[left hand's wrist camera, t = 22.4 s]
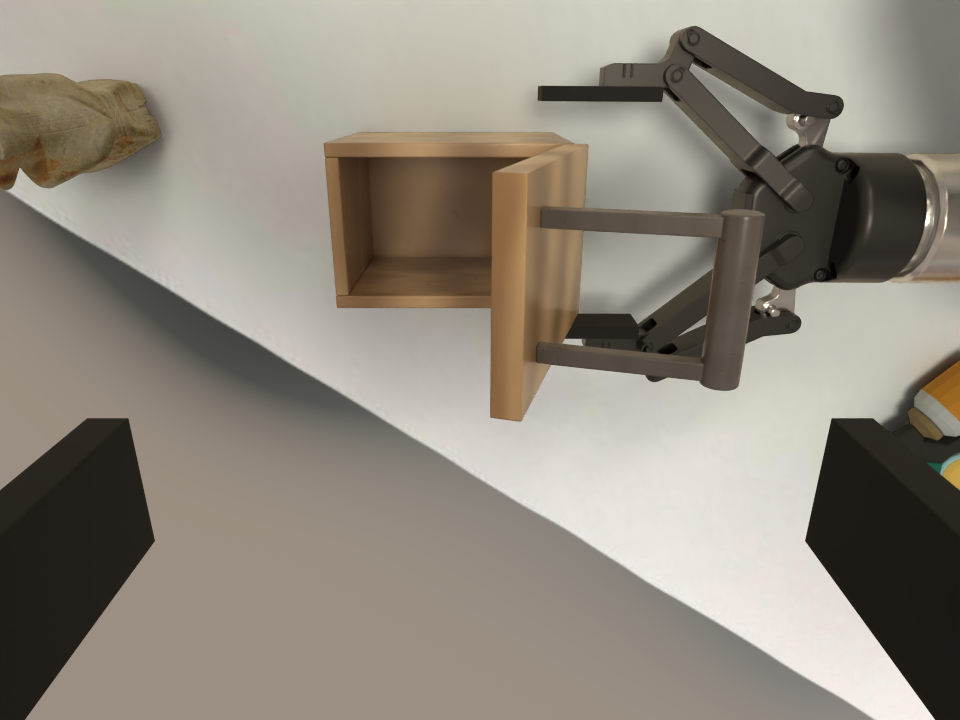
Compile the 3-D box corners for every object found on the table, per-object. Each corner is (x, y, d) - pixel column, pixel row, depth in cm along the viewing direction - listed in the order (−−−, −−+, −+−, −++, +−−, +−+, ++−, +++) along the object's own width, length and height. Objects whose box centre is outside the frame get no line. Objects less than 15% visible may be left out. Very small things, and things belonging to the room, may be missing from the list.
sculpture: (45, 94, 43) (-161, 94, 29) (147, 62, 43) (-15, 46, 29) (87, 183, 46) (-86, 222, 32) (185, 154, 45) (52, 181, 31)
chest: (365, 264, 48) (336, 308, 38) (357, 132, 44) (323, 142, 35) (548, 264, 48) (566, 308, 38) (553, 132, 44) (574, 143, 35)
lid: (489, 418, 25) (737, 451, 23) (491, 172, 22) (781, 181, 20) (557, 310, 38) (721, 325, 35) (564, 143, 34) (747, 147, 32)
